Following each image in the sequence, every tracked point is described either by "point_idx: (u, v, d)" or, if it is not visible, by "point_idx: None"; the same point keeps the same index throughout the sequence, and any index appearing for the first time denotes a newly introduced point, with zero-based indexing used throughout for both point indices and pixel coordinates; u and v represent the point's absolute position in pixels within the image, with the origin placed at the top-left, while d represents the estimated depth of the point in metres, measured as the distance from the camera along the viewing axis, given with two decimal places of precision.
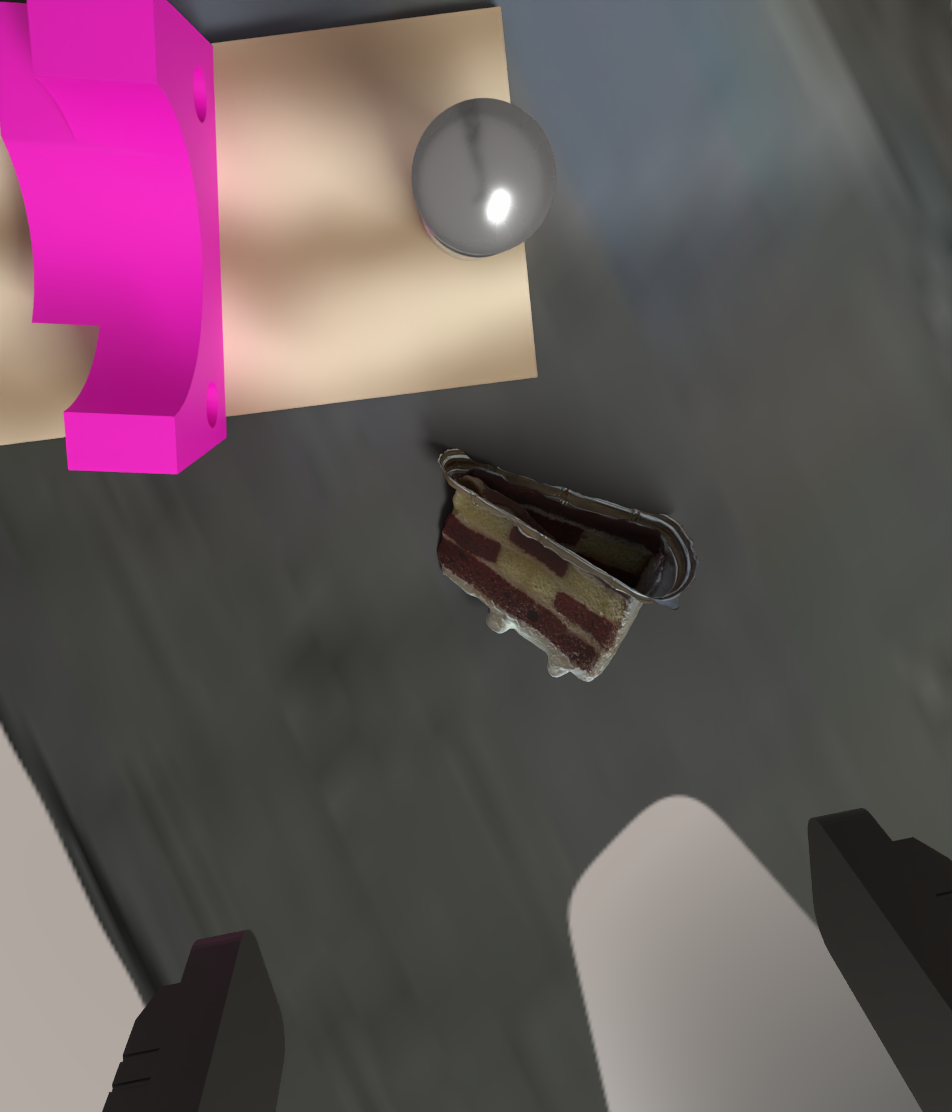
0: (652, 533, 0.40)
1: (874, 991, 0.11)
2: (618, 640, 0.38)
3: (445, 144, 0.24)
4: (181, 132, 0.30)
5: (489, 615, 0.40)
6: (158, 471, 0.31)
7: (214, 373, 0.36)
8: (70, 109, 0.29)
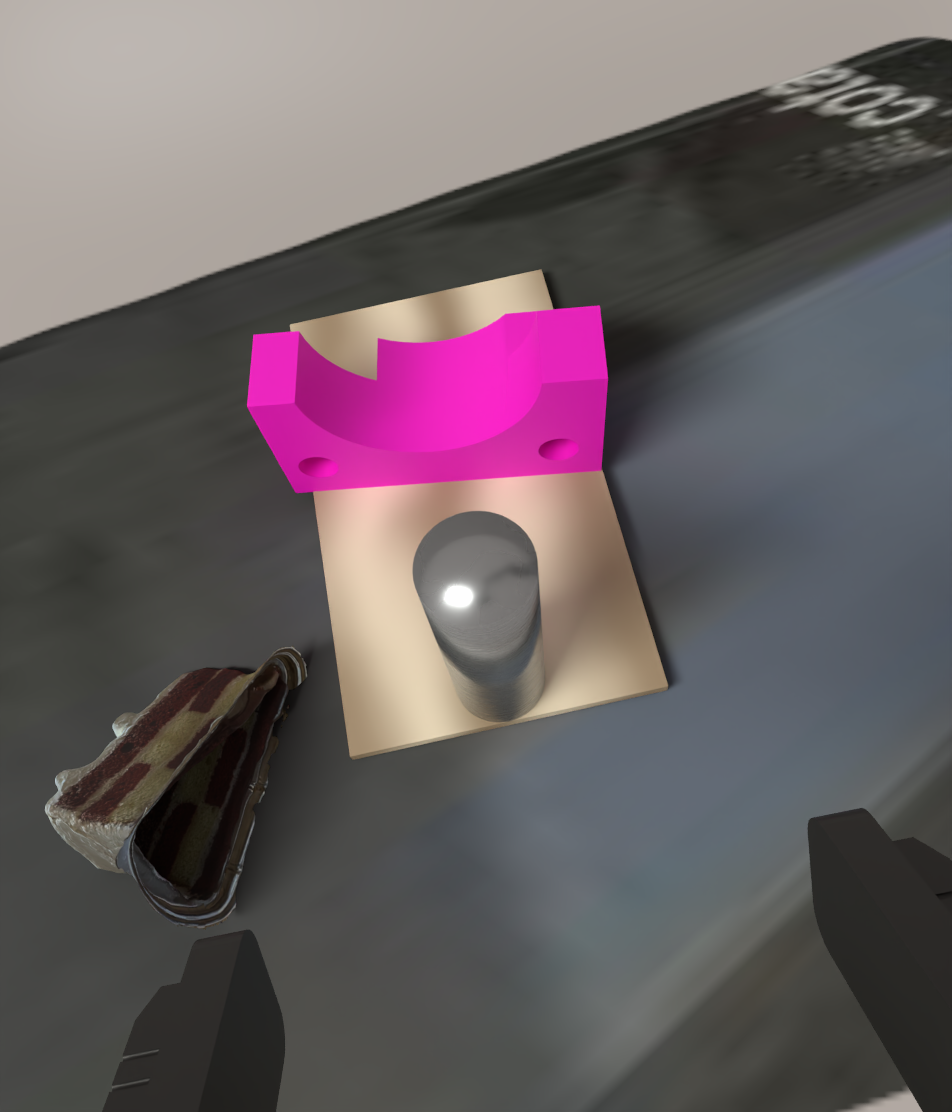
0: (213, 882, 0.36)
1: (874, 991, 0.11)
2: (88, 828, 0.34)
3: (498, 533, 0.29)
4: (520, 419, 0.39)
5: (133, 713, 0.39)
6: (249, 393, 0.38)
7: (345, 471, 0.42)
8: (524, 346, 0.40)
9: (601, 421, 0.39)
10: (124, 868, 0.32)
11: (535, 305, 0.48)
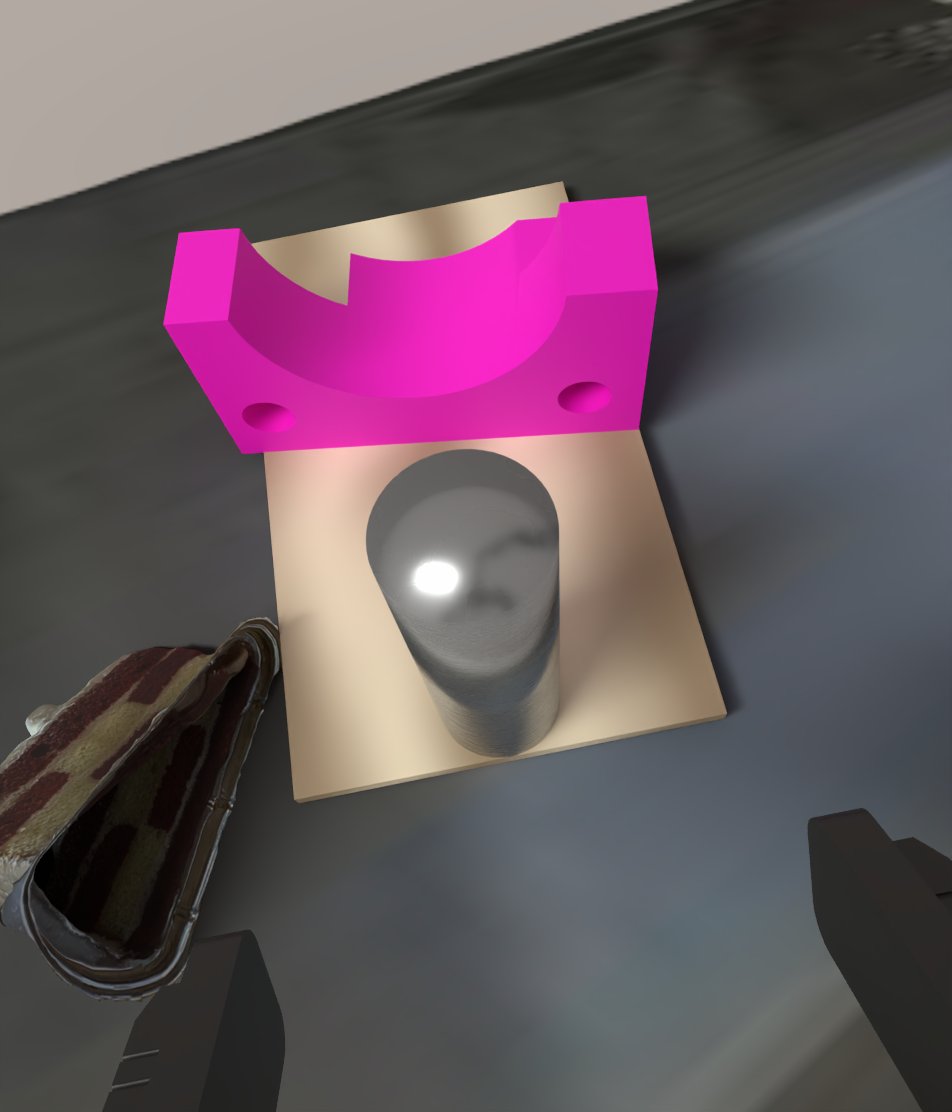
0: (155, 934, 0.26)
1: (874, 991, 0.11)
2: None
3: (498, 483, 0.19)
4: (535, 352, 0.29)
5: (54, 705, 0.29)
6: (168, 307, 0.28)
7: (304, 424, 0.32)
8: (542, 256, 0.30)
9: (644, 356, 0.29)
10: (14, 924, 0.22)
11: None
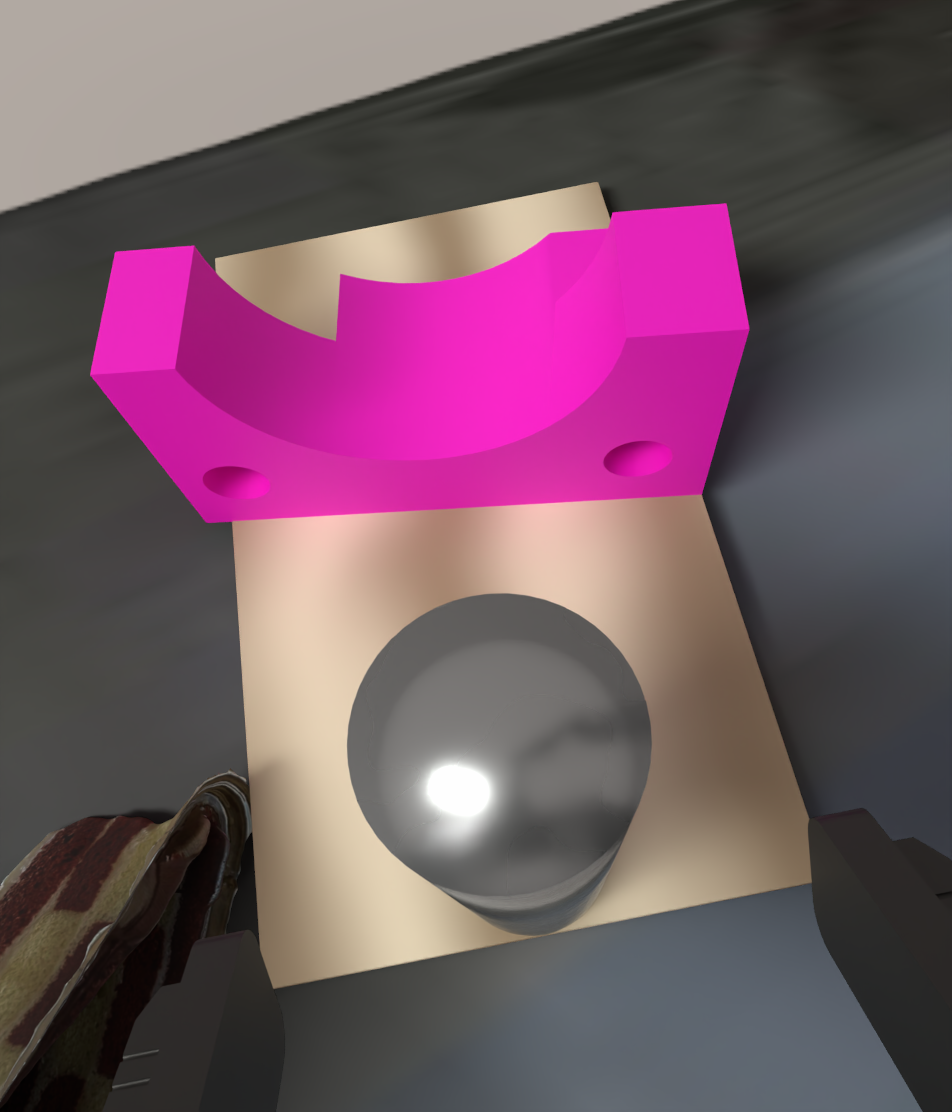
0: None
1: (874, 991, 0.11)
2: None
3: (554, 651, 0.12)
4: (579, 406, 0.22)
5: None
6: (97, 351, 0.21)
7: (282, 490, 0.26)
8: (587, 280, 0.23)
9: (719, 411, 0.22)
10: None
11: None
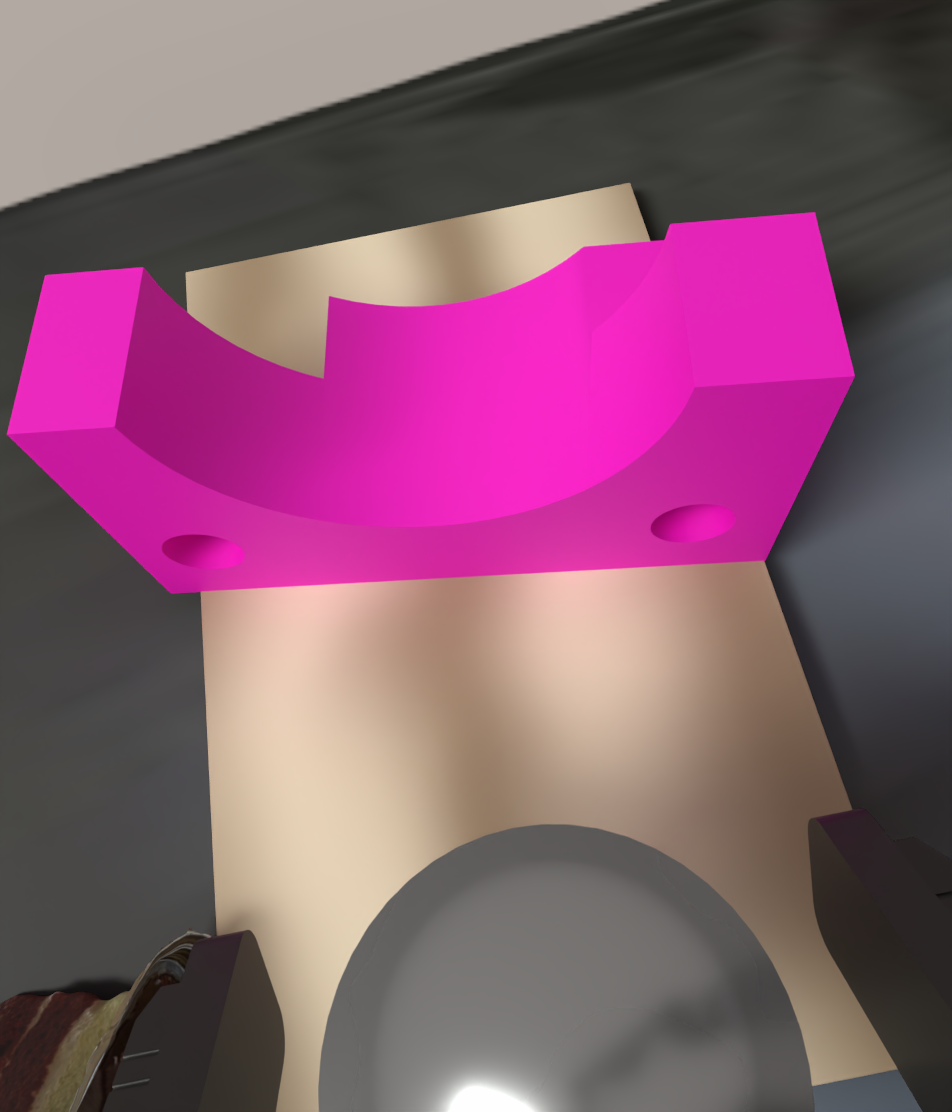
0: None
1: (874, 991, 0.11)
2: None
3: (645, 930, 0.08)
4: (626, 466, 0.18)
5: None
6: (17, 404, 0.16)
7: (260, 559, 0.21)
8: (633, 307, 0.19)
9: (801, 471, 0.18)
10: None
11: (620, 243, 0.27)
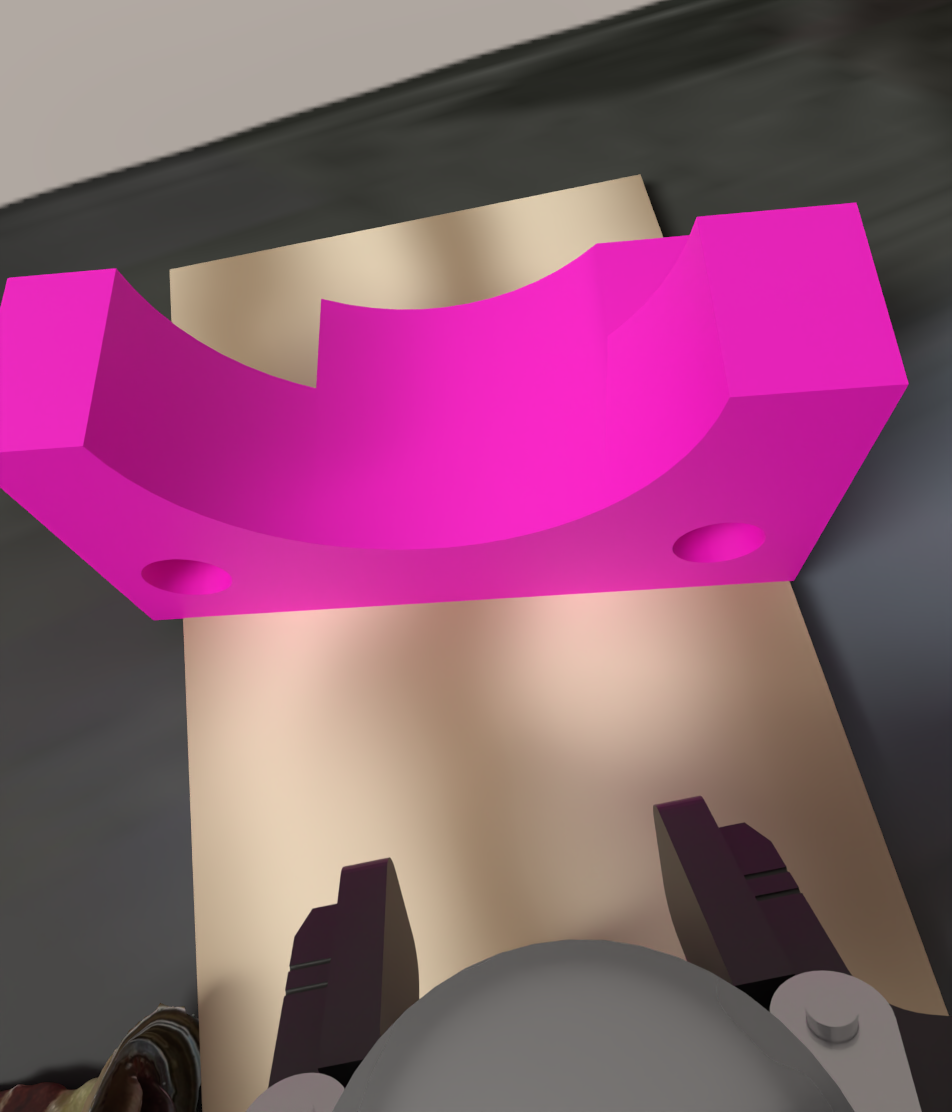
0: None
1: (697, 963, 0.12)
2: None
3: (703, 1080, 0.06)
4: (649, 483, 0.16)
5: None
6: None
7: (248, 584, 0.20)
8: (654, 309, 0.17)
9: (840, 487, 0.16)
10: None
11: (631, 238, 0.25)
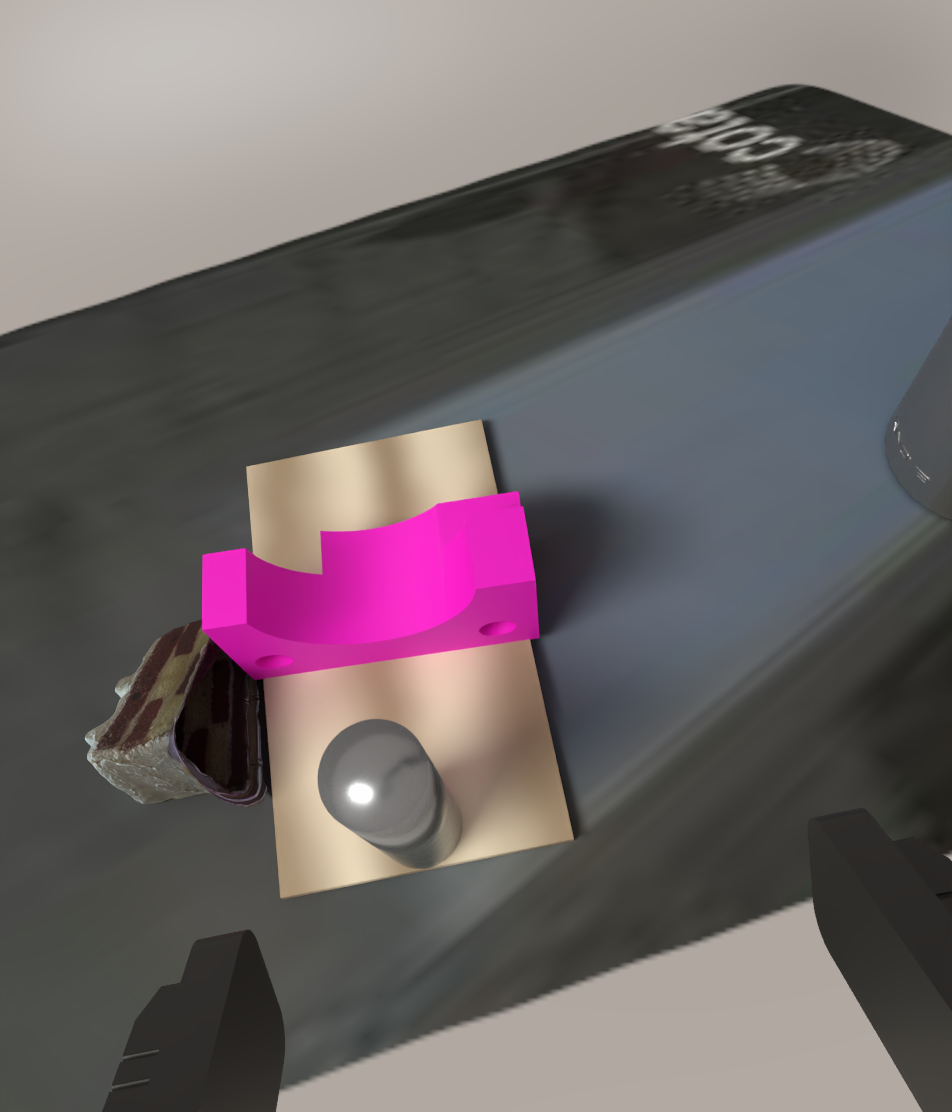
0: (243, 773, 0.44)
1: (874, 991, 0.11)
2: (131, 754, 0.41)
3: (395, 742, 0.32)
4: (459, 613, 0.42)
5: (128, 676, 0.46)
6: (203, 616, 0.40)
7: (300, 661, 0.45)
8: (457, 541, 0.43)
9: (534, 607, 0.42)
10: (176, 758, 0.39)
11: (473, 455, 0.51)
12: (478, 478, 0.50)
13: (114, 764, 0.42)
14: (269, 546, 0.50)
